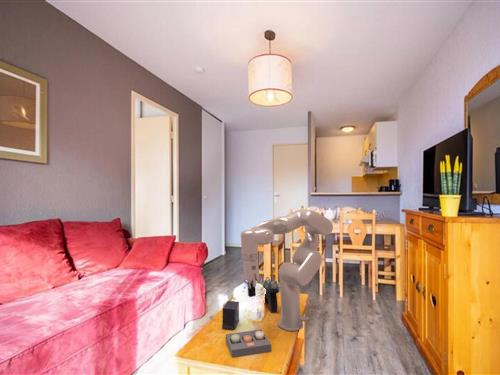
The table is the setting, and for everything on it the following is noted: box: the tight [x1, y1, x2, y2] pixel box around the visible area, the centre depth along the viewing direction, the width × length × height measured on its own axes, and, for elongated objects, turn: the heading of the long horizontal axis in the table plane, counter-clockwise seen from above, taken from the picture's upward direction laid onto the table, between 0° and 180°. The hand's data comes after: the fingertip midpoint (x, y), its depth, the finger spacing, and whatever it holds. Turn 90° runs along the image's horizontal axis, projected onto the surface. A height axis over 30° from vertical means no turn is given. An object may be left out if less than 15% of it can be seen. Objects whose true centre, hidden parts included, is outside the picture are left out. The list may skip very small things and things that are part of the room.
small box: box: [221, 300, 240, 331], centre depth 144 cm, size 11×6×10 cm, turn 168°
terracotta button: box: [244, 335, 252, 342], centre depth 123 cm, size 4×4×2 cm
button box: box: [225, 329, 272, 358], centre depth 123 cm, size 17×14×3 cm
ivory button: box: [256, 330, 265, 340], centre depth 125 cm, size 4×4×2 cm
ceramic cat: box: [262, 273, 280, 314], centre depth 167 cm, size 20×6×20 cm, turn 13°
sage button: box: [231, 334, 240, 344], centre depth 122 cm, size 4×4×2 cm
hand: (252, 295), depth 131 cm, fingers closed
